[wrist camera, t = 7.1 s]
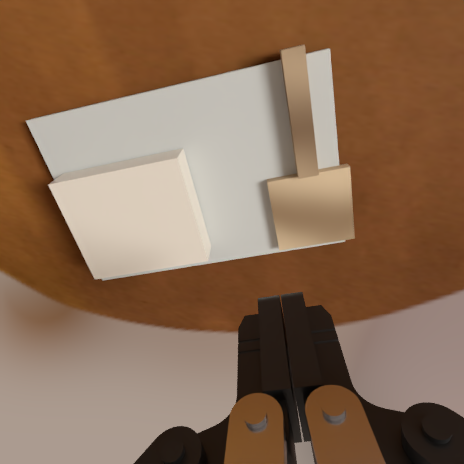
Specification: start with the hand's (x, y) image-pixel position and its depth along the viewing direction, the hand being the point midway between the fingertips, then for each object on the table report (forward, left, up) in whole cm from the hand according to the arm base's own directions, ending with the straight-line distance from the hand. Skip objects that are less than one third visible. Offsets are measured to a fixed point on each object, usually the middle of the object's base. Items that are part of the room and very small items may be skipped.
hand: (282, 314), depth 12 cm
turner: (-1, +3, -12) cm, 12 cm away
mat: (-1, -4, -13) cm, 13 cm away
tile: (0, -5, -11) cm, 12 cm away
